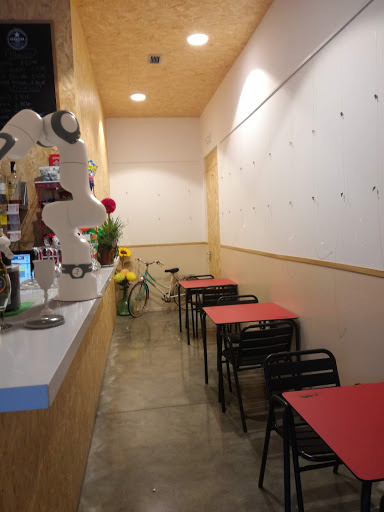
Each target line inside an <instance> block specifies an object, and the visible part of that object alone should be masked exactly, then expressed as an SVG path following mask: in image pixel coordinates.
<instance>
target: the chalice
mask: <svg viewBox="0 0 384 512" xmlns="http://www.w3.org/2000/svg"><path fill="white" fill-rule="evenodd" d="M56 261H57V260H56V259H34V260H32V261H31V262H32V263H33V265H34V267H33V268H34V278H35V280H36V283H37V284H38V287H39V288H40V289H41V290H43V293H44V294H43V298H44V301H43V303H44V305H45V306H44V308H43V309H41V310H40V313H39V316H41V315H56V314H55V312H54V310H53V309H52V308H50V307H49V303H50V300H49V296H50V295H49V293H48V291H49V290H50V289H51V288H52V285H53V284H54V280H55V276H56V269H55V268H56V267H55V263H56Z"/></svg>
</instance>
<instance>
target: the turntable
mask: <svg viewBox="0 0 384 512" xmlns="http://www.w3.org/2000/svg"><path fill="white" fill-rule="evenodd" d="M65 322H66V320H65V316H64V315H62V314H55V315H41V316H40V315H36V316H31V317H28V318H27V319H25V321H24V328H26V329H28V330H29V329H30V330H43V329H50V328H56V327H59V326H62V325H64V324H65Z"/></svg>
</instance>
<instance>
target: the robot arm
mask: <svg viewBox="0 0 384 512" xmlns="http://www.w3.org/2000/svg"><path fill="white" fill-rule="evenodd" d="M80 128H81V127H80V124H79V120H78V119H77V117H76V115H75V114H74V113H73V112H72V111H69V110H65V109H61V110H60V109H59V110H56V111H54V112H52V113H49V114H47V115H44V116H43V117H41V116H40V114H38V113H37V112H35V111H34V110H31V109H22V110H20V111H19V112H18V113H16V114H14V116H12V117H11V119H9V120H8V121H7V123H5V125H4V126H3V128H2V129H1V130H0V163H2V161H3V160H4V159H5V158H8V159H11V160H15V161H18V160H23V159H24V158H26V157H27V156H28V155H29V153H30V152H32V150H33V148H34V147H35V146H36V145H37V146H39V147H41V148H44V149H45V148H47V149H48V148H49V149H50V148H53V147H56V148H57V151H58V153H59V161H58V162H59V163H58V164H59V165H58V167H59V169H58V171H59V184H60V186H61V188H62V189H64V190H65V191H67V192H68V193H71V195H72V200H62V201H61V200H60V201H59V200H58V201H54V202H50V203H47V204H45V205H44V206H43V208H42V211H41V218H42V221H43V223H44V224H45V226H46V227H48V228H49V229H50V230H52V232H53V233H54V235H56V238H57V239H58V242H59V245H60V252H61V265H60V271H61V274H60V277H59V278H57V295H55V296H54V297H53V301H60V302H61V301H63V302H78V301H80V302H81V301H88V300H93V299H96V298H102V297H103V293H101V292H99V291H98V278H97V276H96V275H95V274H94V273H93V262H92V256H91V253H92V252H91V244H90V242H89V241H88V240H87V239H85V238H83V237H81V236H80V235H79V233H78V231H77V229H93V228H96V227H100V226H103V225H104V223H105V221H106V219H107V215H108V213H107V209H106V207H105V205H104V204H103V202H101V201H100V200H98V199H97V197H96V196H95V195H94V193H93V192H92V189H91V186H90V177H89V175H90V173H89V172H90V171H89V170H90V169H89V155H88V150H87V145H86V143H85V141H84V140H82V139H81V131H80ZM11 244H12V242H11V240H10V239H9V238H8V236H7V235H5V233H3V236H2V237H0V252H2V253H3V254H4V256H5V258H7V259H8V260H12V259H13V257H15V254H14V253H13V252H12V251H11V250H10V246H11Z"/></svg>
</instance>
